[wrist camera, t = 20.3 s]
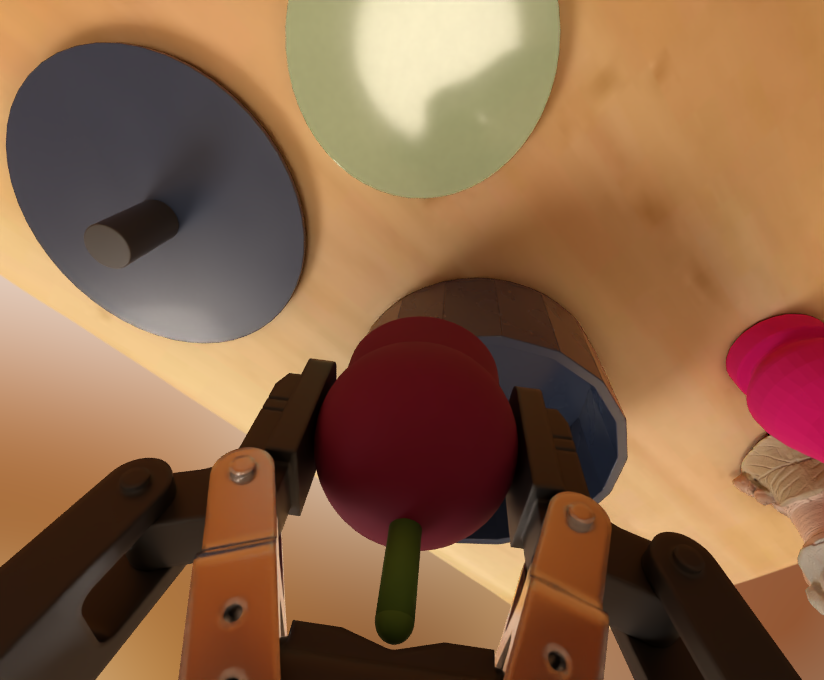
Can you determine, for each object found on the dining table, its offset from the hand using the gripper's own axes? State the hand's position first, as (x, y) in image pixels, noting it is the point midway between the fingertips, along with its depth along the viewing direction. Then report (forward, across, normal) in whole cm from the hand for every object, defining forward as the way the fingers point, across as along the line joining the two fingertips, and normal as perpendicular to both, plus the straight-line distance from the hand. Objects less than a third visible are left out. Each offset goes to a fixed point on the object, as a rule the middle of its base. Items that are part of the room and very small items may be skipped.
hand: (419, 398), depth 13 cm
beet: (+1, 0, 0) cm, 1 cm away
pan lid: (+17, +18, +2) cm, 25 cm away
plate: (+18, +2, -8) cm, 19 cm away
